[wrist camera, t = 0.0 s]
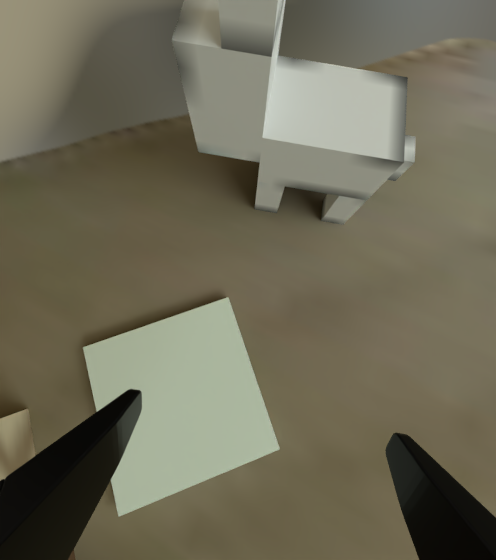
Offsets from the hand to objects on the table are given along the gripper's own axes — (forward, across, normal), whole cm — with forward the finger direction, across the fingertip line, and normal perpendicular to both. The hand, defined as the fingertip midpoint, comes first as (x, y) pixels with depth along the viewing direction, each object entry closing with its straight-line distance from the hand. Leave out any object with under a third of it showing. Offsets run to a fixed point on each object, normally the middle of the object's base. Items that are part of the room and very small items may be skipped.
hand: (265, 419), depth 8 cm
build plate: (+10, +6, +11) cm, 16 cm away
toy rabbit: (+23, -2, -8) cm, 25 cm away
